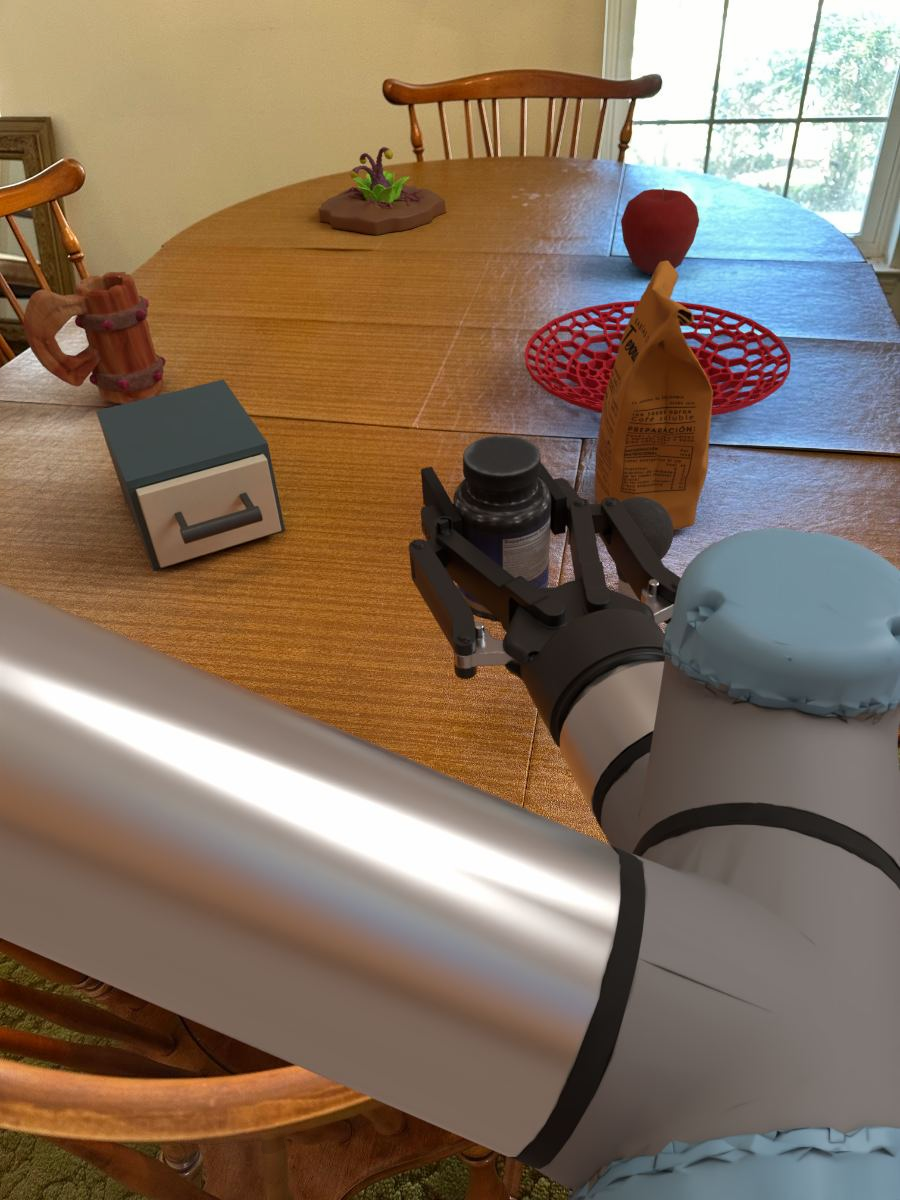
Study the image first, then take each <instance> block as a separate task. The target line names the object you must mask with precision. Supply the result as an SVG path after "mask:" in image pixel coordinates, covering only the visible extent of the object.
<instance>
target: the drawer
mask: <svg viewBox="0 0 900 1200" xmlns="http://www.w3.org/2000/svg"><path fill="white" fill-rule="evenodd" d="M136 493H137V496H138V499H139V502H140V505H141V509H142V512H143V515H144V518H145V521H146V524H147V528H148V531H149V534H150V537H151V540H152V544H153V547H154V550H155V553H156V556H157V560H158V562H159V565H160V567H161V568H162V567H165V566H168V565H172V564H175V563H178V562H181V561H185V560H188V559H191V558H194V557H198V556H201V555H204V554H208V553H211V552H214V551H217V550H221V549H224V548H227V547H230V546H234V545H237V544H240V543H243V542H247V541H250V540H253V539H256V538H260V537H263V536H266V535H269V534H273V533H276V532H279V531H281V526H280V521H279V516H278V511H277V506H276V501H275V496H274V491H273V486H272V481H271V476H270V471H269V466H268V461H267V459H266V457H265V456H264V454H261V455H257V456H254V457H252V456H249V457H245V458H242V459H238V460H234V461H231V462H227V463H224V464H220V465H216V466H213V467H209V468H206V469H202V470H198V471H195V472H191V473H188V474H184V475H181V476H177V477H173V478H170V479H166V480H163V481H159V482H155V483H152V484H148V485H145V486H141V487H139V489H136ZM279 533H280V532H279ZM276 534H277V533H276ZM273 535H274V534H273ZM266 537H267V536H266ZM263 538H264V537H263ZM260 539H261V538H260ZM253 541H254V540H253ZM250 542H251V541H250ZM247 543H248V542H247ZM240 545H241V544H240ZM237 546H238V545H237ZM234 547H235V546H234ZM227 549H228V548H227ZM224 550H225V549H224ZM221 551H222V550H221ZM214 553H215V552H214ZM211 554H212V553H211ZM208 555H209V554H208ZM201 557H202V556H201ZM198 558H199V557H198ZM188 561H189V560H188ZM185 562H186V561H185ZM175 565H176V564H175ZM172 566H173V565H172ZM162 569H163V568H162Z"/></svg>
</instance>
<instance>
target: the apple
mask: <svg viewBox="0 0 900 1200" xmlns="http://www.w3.org/2000/svg"><path fill="white" fill-rule="evenodd" d="M620 224H621V233H622V240H623V241H622V242H623V245H624V246H625V249H626V251H627V254H628V256H629V259H630V261H631V263H632V265H634V266H635V267H637V268H638V269H639V270H641V271H642V272H644V273H645V274H648V275H653V274H654V272H655V269H656V267H657V265H658V264H659V263H660V262H663V261H669V263H670V264H671V265H672V266H673V267H674V269H675V270H676V269H677V268H678V267H679V266H681V265H682V263H683V262H684V259H685V258H686V256H687V254H688V253H689V251H690V249H691V247H692V245H693V243H694V242H695V238H696V235H697V231H698V227H699V224H700V217H699V212H698V207H697V205H696V203H695V202H694V201H693V200H692V199H691V198H690V197H689V195H688V194H687V193H684V192H683V191H681V190H674V189H665V188H664V187H662V189H661V188H651V189H646V190H643V191H641V192H639V193H638V194H637V195H635V196H634V197H633V198H632V199H630V200H628V201H627V204H626V206H625V209H624V211H623V213H622V216H621V220H620Z"/></svg>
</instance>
